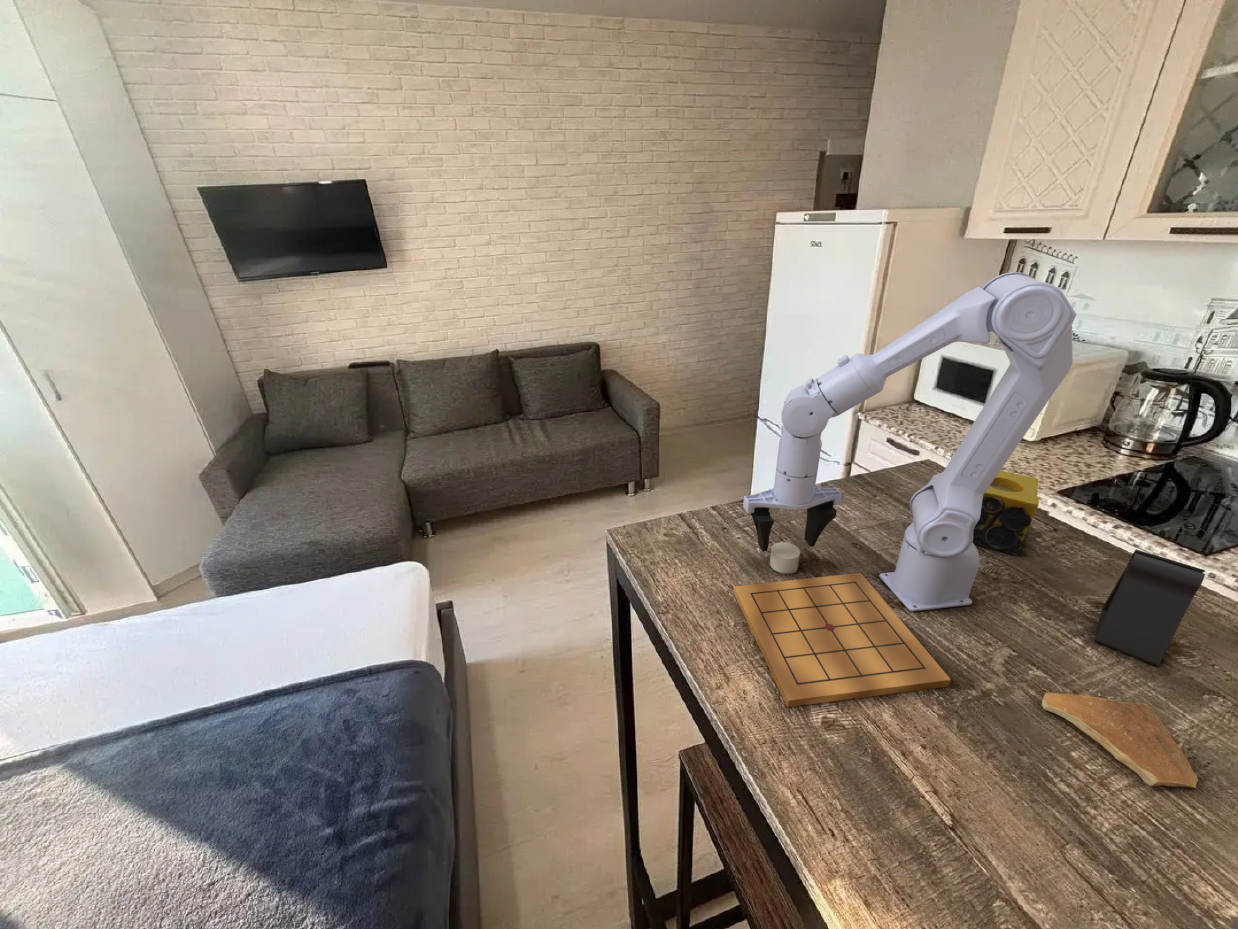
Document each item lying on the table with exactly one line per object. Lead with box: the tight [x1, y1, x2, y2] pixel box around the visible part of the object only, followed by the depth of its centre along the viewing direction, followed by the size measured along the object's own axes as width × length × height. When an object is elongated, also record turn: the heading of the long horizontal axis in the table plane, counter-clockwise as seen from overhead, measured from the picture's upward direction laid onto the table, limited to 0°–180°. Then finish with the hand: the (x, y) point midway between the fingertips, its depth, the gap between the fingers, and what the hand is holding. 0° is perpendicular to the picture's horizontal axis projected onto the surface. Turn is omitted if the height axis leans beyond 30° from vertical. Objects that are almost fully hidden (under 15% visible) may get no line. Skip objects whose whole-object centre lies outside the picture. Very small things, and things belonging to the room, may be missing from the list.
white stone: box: [769, 541, 801, 575], centre depth 81 cm, size 4×4×3 cm
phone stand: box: [1093, 549, 1206, 667], centre depth 64 cm, size 9×6×12 cm, turn 134°
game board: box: [733, 572, 952, 708], centre depth 68 cm, size 20×20×1 cm
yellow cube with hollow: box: [972, 470, 1040, 556], centre depth 86 cm, size 10×10×10 cm
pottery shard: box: [1041, 692, 1199, 789], centre depth 53 cm, size 10×9×2 cm
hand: (786, 545), depth 80 cm, fingers open, 7 cm apart
